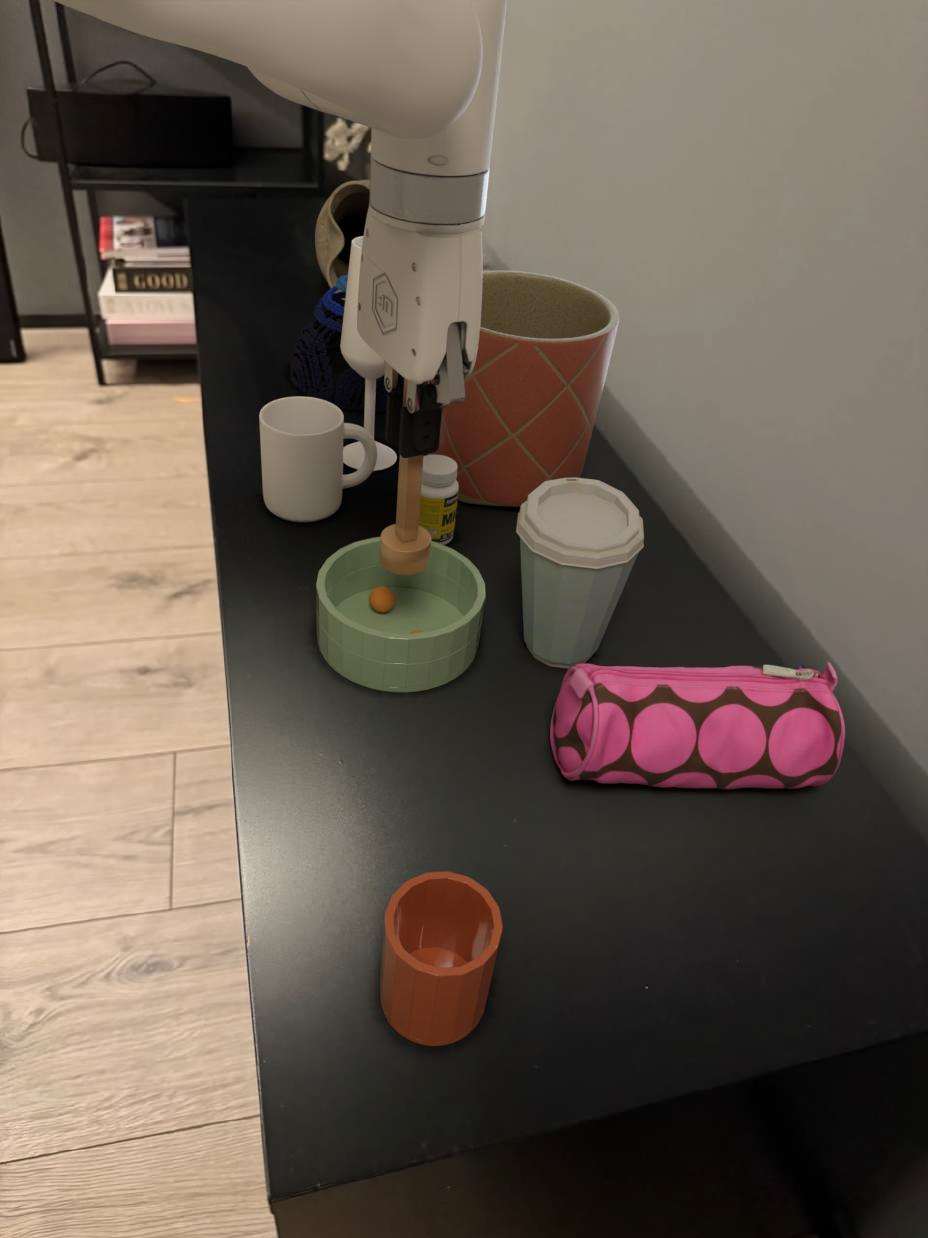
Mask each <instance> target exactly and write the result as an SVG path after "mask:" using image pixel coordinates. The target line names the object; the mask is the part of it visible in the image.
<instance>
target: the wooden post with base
mask: <svg viewBox="0 0 928 1238" xmlns="http://www.w3.org/2000/svg"><path fill="white" fill-rule="evenodd" d="M427 384H429V381H424V382H423V385H422V388H423V387H424V386H425V385H427ZM407 387H408V380H406V379H405V378H404V390H403V407H406V406H407V404H406V399H407ZM424 456H425V454H424V455H419V456H414V457H409V458H403V457H402V456H401V455H400V454H399V461H398V463H399V464H398V480H397V496H396V497H397V499H396V516H395V523H394V524H390V525H389V526H386V527H385V528H383V530H382V531H381V533H380V537H381V540H380V563H381V565H382V566H383V567H384V568H385V569H386V570H388V571H390V572H392V573H395V574H399V575H414V574H418V573H420V572H422V571H424V570H425V569H426V568H427V567H428V565H429V562H430V552H431V540H432V539H431V535H430V533H429V532H428V531H427V530H426V529H424V528H423V527H420V526H418V523H419V509H420V496H421V483H422V470H423V457H424Z"/></svg>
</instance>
